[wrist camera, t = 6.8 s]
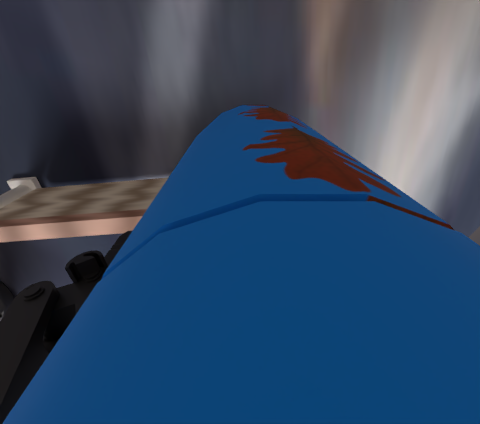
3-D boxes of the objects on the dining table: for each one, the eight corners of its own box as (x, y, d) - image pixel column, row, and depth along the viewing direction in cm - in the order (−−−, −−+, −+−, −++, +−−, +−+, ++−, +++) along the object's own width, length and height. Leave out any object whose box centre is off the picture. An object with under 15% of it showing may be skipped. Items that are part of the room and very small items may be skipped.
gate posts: (25, 200, 40) (-89, 267, 26) (11, 178, 38) (-119, 238, 24) (215, 185, 39) (204, 246, 25) (212, 162, 37) (197, 213, 23)
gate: (41, 197, 38) (-35, 245, 27) (35, 186, 37) (-47, 230, 26) (189, 185, 37) (169, 229, 26) (186, 173, 36) (165, 214, 25)
